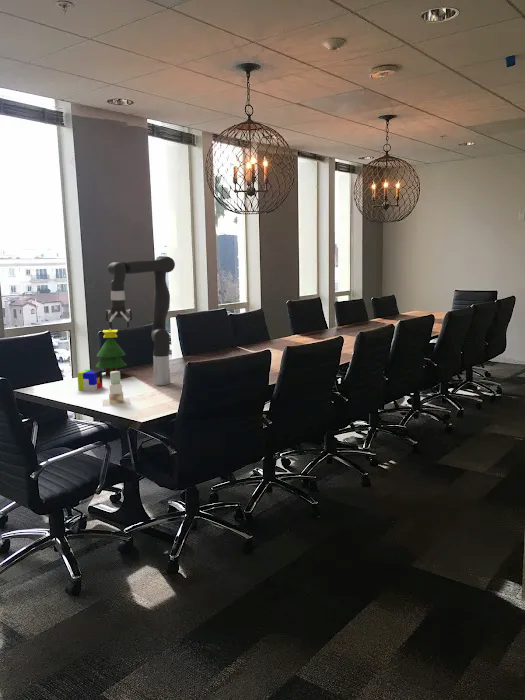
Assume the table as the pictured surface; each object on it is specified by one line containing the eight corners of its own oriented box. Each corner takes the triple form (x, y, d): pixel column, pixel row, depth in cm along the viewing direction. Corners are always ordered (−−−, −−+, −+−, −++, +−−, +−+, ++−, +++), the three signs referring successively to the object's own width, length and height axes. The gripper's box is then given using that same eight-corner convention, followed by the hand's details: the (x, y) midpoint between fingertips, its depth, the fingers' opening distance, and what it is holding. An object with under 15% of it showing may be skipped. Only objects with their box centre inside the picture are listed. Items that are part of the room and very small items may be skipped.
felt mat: (129, 398, 319) (129, 397, 319) (131, 405, 306) (131, 404, 306) (102, 400, 315) (102, 399, 315) (102, 407, 302) (102, 406, 302)
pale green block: (120, 382, 312) (119, 370, 311) (120, 384, 307) (120, 372, 306) (110, 382, 310) (110, 371, 309) (110, 384, 306) (110, 373, 305)
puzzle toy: (94, 390, 337) (93, 373, 335) (78, 390, 339) (77, 372, 337) (102, 386, 347) (101, 370, 345) (86, 386, 349) (86, 369, 347)
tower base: (122, 399, 315) (122, 390, 314) (123, 403, 308) (123, 393, 307) (109, 400, 313) (108, 391, 312) (109, 404, 306) (109, 394, 305)
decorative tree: (95, 378, 368) (93, 330, 363) (96, 372, 387) (94, 326, 382) (127, 377, 372) (125, 329, 367) (126, 371, 391) (125, 326, 386)
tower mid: (121, 391, 313) (121, 381, 312) (122, 393, 307) (121, 384, 307) (109, 391, 311) (109, 382, 311) (110, 394, 306) (109, 385, 305)
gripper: (130, 298, 331) (131, 327, 334) (104, 298, 327) (105, 328, 330) (131, 299, 324) (132, 328, 326) (104, 299, 320) (106, 329, 323)
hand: (119, 328), depth 328 cm, fingers open, 8 cm apart
